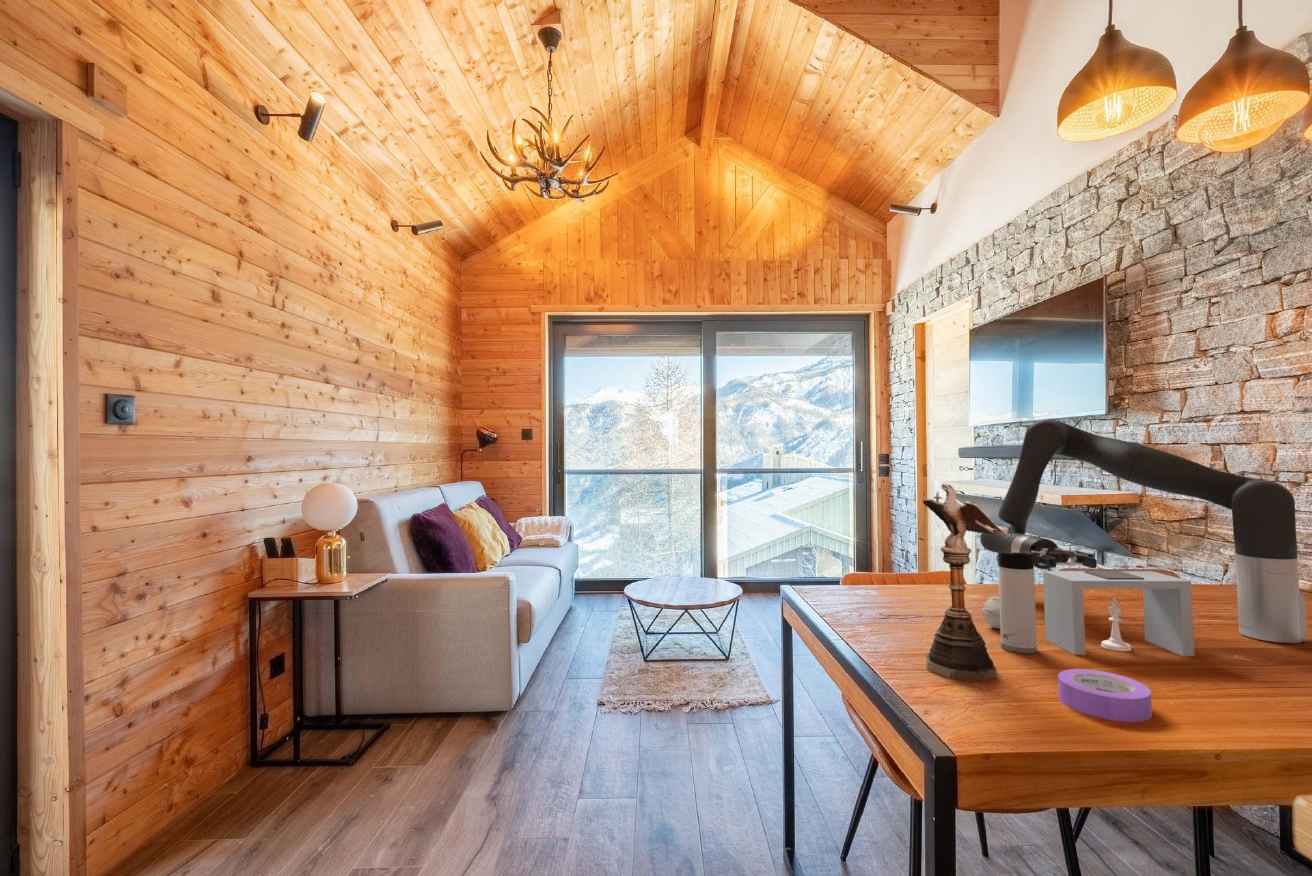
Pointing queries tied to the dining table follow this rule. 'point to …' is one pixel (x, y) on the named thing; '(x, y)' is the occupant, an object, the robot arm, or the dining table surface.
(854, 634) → the dining table surface
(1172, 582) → the bridge
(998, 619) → the frog figurine
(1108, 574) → the pad
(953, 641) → the bird statue
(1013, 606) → the travel mug
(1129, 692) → the masking tape
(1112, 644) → the chess piece
